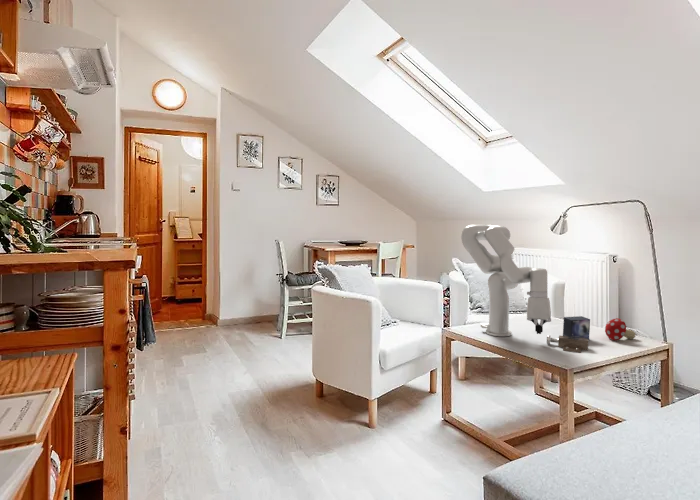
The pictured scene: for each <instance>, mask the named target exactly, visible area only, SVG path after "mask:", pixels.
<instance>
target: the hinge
mask: <svg viewBox="0 0 700 500" xmlns="http://www.w3.org/2000/svg"><path fill="white" fill-rule="evenodd" d="M557 339H558V343H557V346H558V348H563V349H562V351H565V352H572V353H577V354H581V353H582V351H588V350H589V340H588V339H585V338H579V337H571V336H563V335H559V336H558V338H557Z"/></svg>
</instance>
